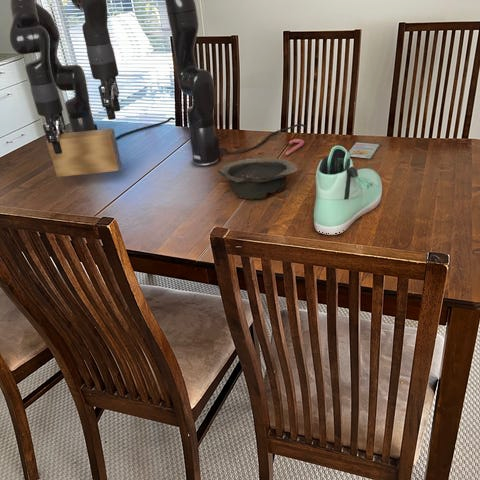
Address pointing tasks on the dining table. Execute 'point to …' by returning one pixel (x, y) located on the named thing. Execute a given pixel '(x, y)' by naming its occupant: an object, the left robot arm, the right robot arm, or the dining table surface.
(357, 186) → the sneaker
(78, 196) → the dining table surface
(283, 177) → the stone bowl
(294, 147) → the candy cane
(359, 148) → the baking ingredient package
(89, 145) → the box
